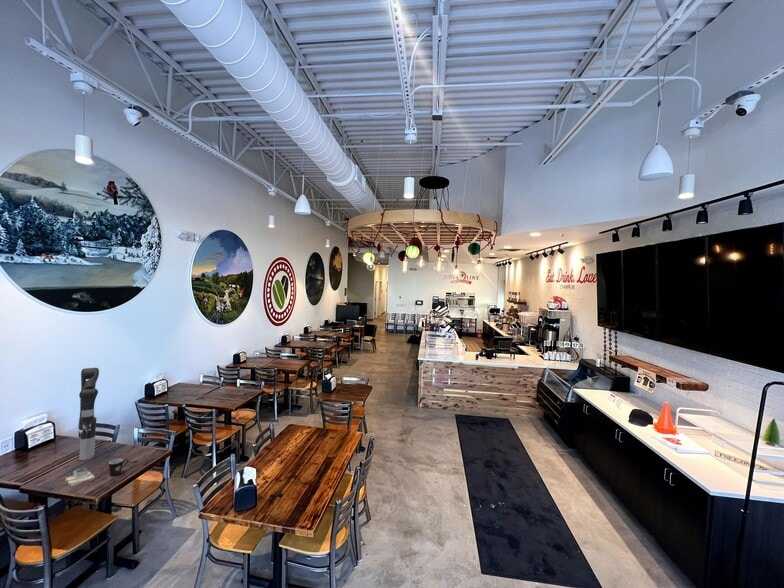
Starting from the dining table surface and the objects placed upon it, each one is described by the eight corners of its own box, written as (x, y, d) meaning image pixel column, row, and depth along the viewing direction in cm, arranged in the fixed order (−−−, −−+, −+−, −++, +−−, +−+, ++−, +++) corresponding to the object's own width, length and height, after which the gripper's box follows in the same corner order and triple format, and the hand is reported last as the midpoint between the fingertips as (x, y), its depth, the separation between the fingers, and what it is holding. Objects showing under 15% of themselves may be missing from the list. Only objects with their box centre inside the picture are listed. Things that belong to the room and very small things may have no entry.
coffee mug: (107, 478, 245) (108, 465, 245) (108, 473, 252) (109, 460, 252) (127, 474, 252) (127, 461, 252) (128, 469, 259) (128, 456, 259)
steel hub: (73, 477, 242) (73, 471, 242) (84, 474, 247) (85, 467, 247) (75, 480, 238) (76, 473, 238) (87, 476, 244) (87, 470, 244)
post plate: (65, 479, 242) (65, 470, 242) (88, 472, 252) (88, 463, 253) (71, 487, 233) (71, 478, 233) (95, 479, 244) (95, 470, 244)
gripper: (97, 415, 252) (96, 436, 252) (91, 411, 260) (90, 432, 260) (84, 418, 246) (83, 440, 246) (78, 414, 254) (77, 435, 253)
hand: (86, 435), depth 253 cm, fingers open, 8 cm apart
